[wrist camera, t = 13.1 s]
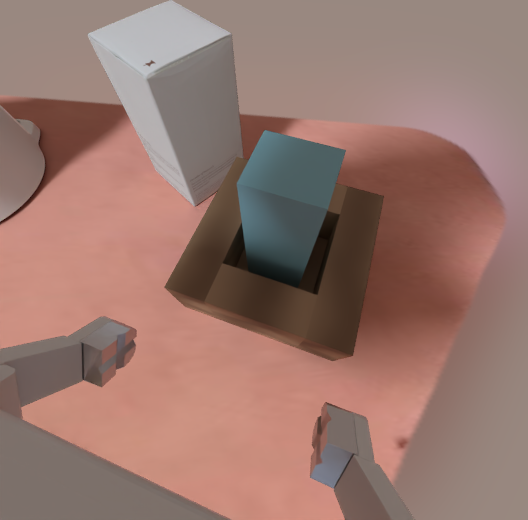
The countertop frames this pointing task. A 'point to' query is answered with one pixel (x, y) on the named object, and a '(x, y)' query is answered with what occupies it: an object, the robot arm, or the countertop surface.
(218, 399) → the countertop surface
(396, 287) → the countertop surface
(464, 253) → the countertop surface
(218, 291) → the well block
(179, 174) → the supplement box
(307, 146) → the blue square pillar
